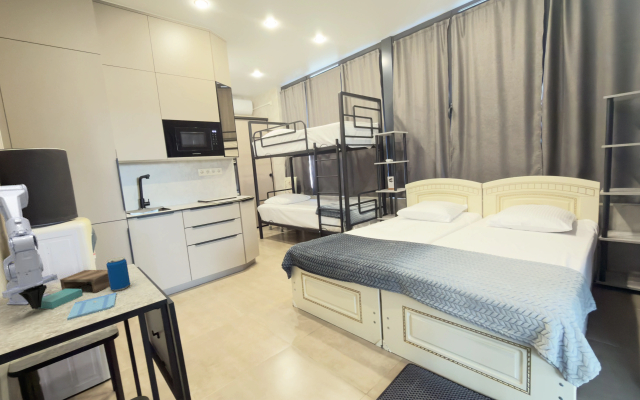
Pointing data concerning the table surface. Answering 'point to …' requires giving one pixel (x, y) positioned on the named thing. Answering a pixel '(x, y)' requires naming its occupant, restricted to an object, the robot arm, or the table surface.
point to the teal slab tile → (60, 298)
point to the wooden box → (87, 280)
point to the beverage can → (118, 273)
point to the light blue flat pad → (92, 306)
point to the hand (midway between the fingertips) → (36, 307)
